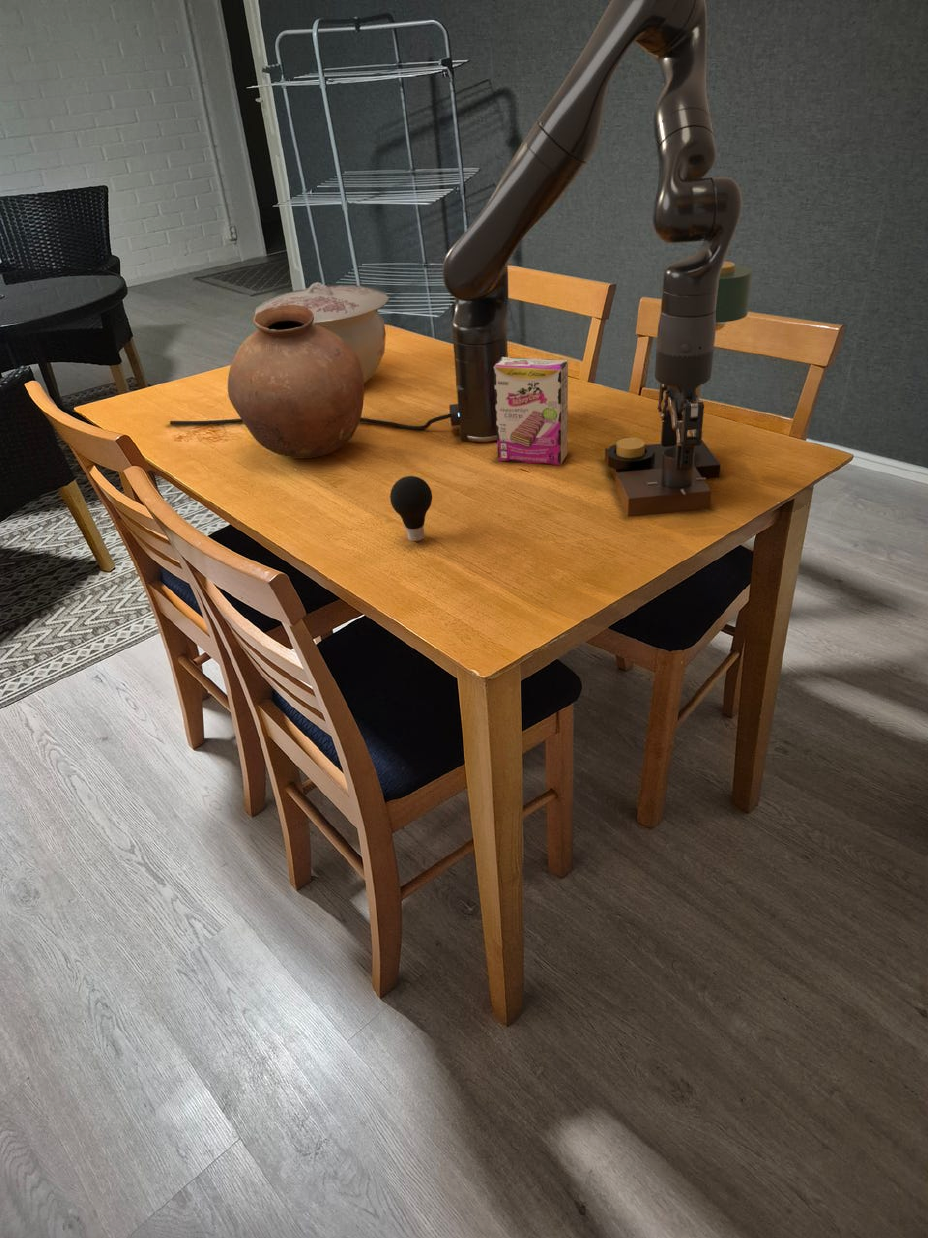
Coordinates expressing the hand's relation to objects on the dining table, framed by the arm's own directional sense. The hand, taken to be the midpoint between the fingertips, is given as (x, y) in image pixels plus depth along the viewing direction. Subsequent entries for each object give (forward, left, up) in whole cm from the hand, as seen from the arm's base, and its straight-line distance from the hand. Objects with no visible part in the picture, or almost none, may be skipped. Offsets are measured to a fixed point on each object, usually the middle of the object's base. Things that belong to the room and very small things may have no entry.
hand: (675, 456), depth 123 cm
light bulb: (-38, -5, -7) cm, 40 cm away
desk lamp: (+8, +14, -3) cm, 16 cm away
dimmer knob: (+1, 0, -4) cm, 4 cm away
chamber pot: (-55, +69, -7) cm, 89 cm away
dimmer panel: (-1, +1, -7) cm, 7 cm away
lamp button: (-4, +10, -3) cm, 12 cm away
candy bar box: (-18, +20, -7) cm, 28 cm away
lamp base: (+1, +11, -7) cm, 13 cm away
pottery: (-58, +32, -7) cm, 66 cm away
